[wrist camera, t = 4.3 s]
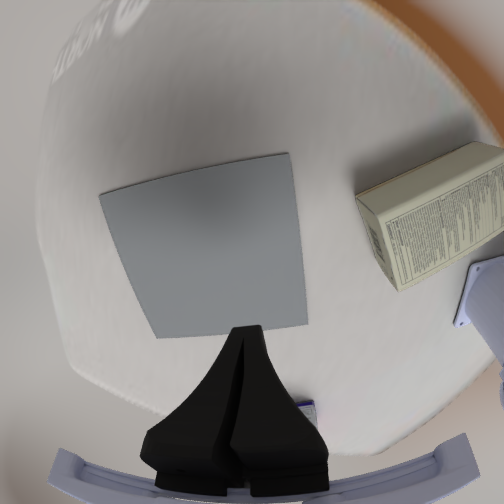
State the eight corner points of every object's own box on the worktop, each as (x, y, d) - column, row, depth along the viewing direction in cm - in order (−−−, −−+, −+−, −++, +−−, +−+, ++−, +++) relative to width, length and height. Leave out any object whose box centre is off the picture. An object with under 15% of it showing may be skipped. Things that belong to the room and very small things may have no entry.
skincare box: (375, 264, 20) (483, 207, 18) (398, 296, 16) (514, 226, 14) (351, 192, 18) (472, 139, 15) (377, 213, 14) (509, 149, 11)
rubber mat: (288, 153, 17) (289, 153, 17) (307, 322, 23) (308, 324, 23) (99, 195, 18) (98, 196, 18) (157, 337, 24) (156, 338, 24)
